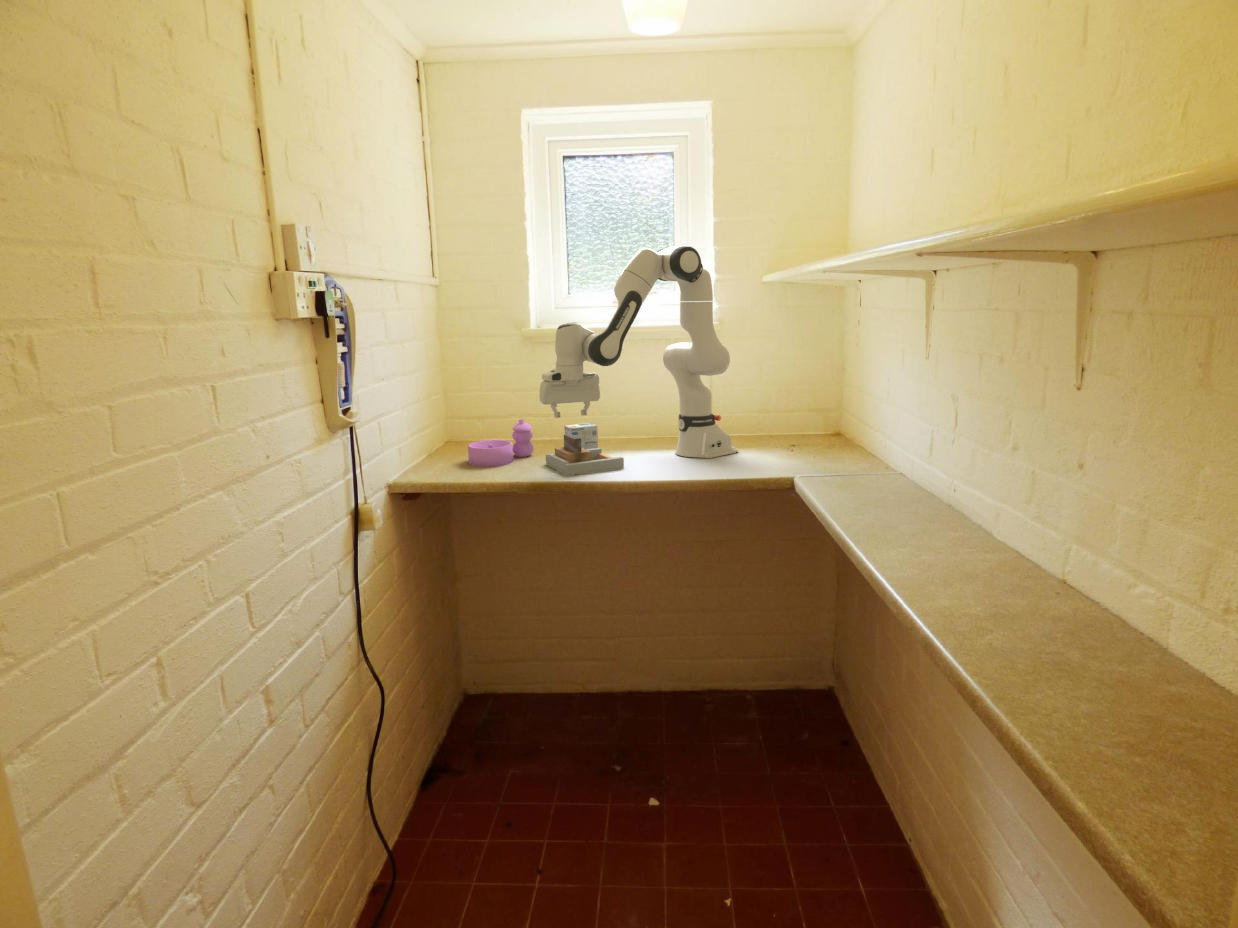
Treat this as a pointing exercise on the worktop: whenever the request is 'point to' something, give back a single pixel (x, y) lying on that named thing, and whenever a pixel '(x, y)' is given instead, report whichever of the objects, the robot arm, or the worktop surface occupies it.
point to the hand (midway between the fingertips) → (570, 416)
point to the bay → (585, 463)
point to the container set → (502, 448)
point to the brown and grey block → (573, 450)
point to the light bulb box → (584, 434)
